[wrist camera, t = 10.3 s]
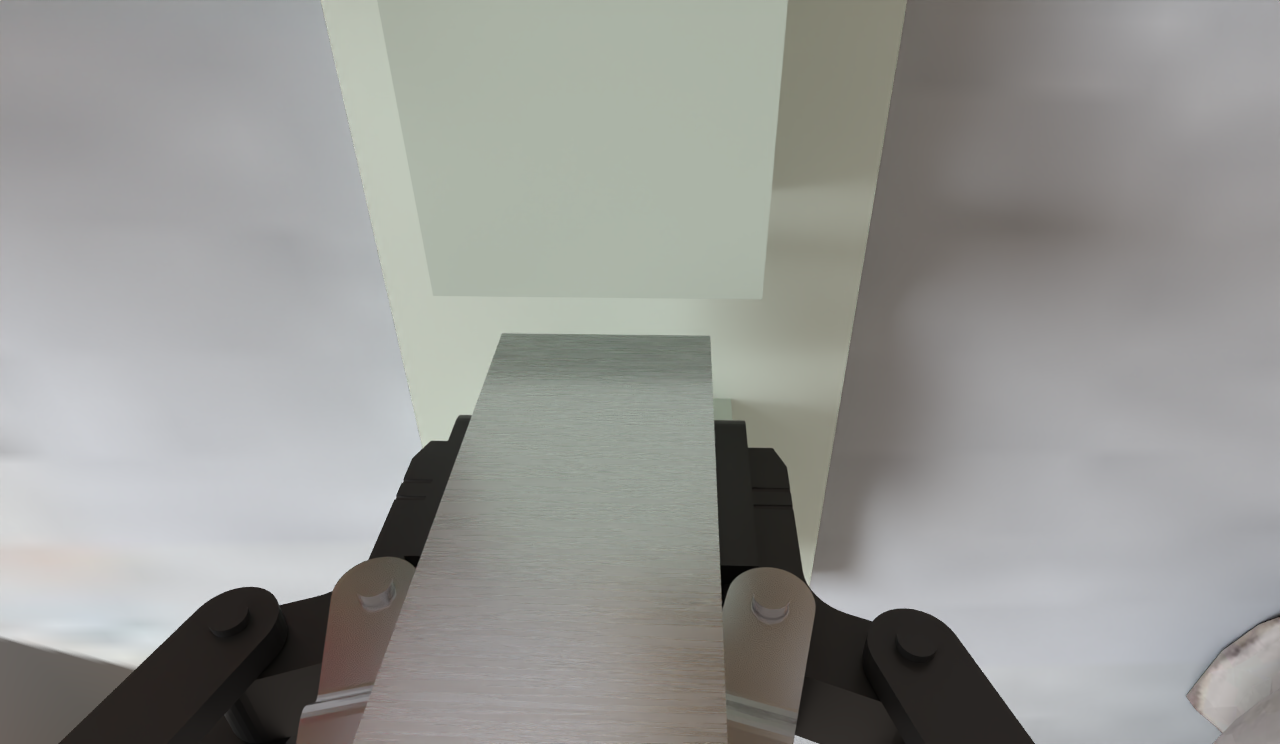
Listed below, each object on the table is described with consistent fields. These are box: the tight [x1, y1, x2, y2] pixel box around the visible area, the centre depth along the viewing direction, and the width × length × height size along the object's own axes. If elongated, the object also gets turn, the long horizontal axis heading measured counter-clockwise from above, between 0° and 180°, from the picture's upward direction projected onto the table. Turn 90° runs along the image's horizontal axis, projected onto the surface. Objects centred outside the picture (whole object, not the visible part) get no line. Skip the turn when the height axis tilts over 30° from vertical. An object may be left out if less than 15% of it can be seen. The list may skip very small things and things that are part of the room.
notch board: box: [321, 0, 907, 586], centre depth 20 cm, size 12×22×8 cm, turn 1°
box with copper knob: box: [353, 333, 728, 744], centre depth 12 cm, size 4×4×10 cm
